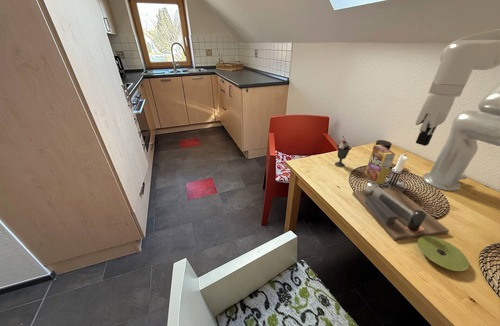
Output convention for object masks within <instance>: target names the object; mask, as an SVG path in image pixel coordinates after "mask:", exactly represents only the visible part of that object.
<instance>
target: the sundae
mask: <svg viewBox="0 0 500 326" xmlns="http://www.w3.org/2000/svg"><path fill="white" fill-rule="evenodd" d="M342 138H343V140H342V142H339V144H337V145H336V148H337V157H338V159H339V161H336V162H334V166H336V167H338V168H344V167H345V166H346V164H345V163H343V160H345V159H346V158H347V156H348V154H349V152H350V151H351V150H352V147H351V146H349V143H348V142H347V141H346V140H345V139H346V138H345V136H342Z"/></svg>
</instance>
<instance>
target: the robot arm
mask: <svg viewBox="0 0 500 326" xmlns="http://www.w3.org/2000/svg"><path fill="white" fill-rule="evenodd" d="M439 62H440V63H439V64H438V65H439V66H438V68H437V70H436V73H435V74H434V78H433V81H432V83H431V85H430V88H429V90H428V93H427V94H429V95H428V96H427V98H426V99H425V102H424V104H423V105H422V107H421V110H420V111H419V114H418V116H417V117H416V121H415V125H416V126H419V125H421V126H420V128H419V134H418V136H417V138H416V141H415V144H418V145H420V146H424V147H425V146H428V145H429V144H430V142H431V139H432V138H433V135H434V133H435V131H436V129H437V127H438V126H439V125H442V124H443V123H444V122H445V121H446V119H448V118H447V117H448V116H449V113H450V111H451V109H452V106H453V104H454V102H455V99H456V98H458V97H460V96H461V95H462V93H463V90H464V89H465V87H466V85H467V83H468V81H469V79H470V77H471V75H472V72H473V70H477V71H487V70H492V69H495V68H496V67H498V66H500V28H497V29H493V30H488V31H483V32H479V33H474V34H470V35H467V36H464V37H460V38H458V39H456V40H454V41H452V42H450V43H449V44H447V46H446V47H445V48H444V49H443V50H442V51H441V53H440V57H439ZM477 108H478V110H465V111H462V112H460V113H458V114H457V115H456V116H455V118H454V120H453V121H452V123H451V127H450V132H449V134H448V137H447V139H446V141H445V142H444V145H443V147H442V148H441V151H440V152H439V155H438V156H437V158H436V160H435V162H434V164H433V165H432V168H431V170H430V171H429V172H425V173H424V174H423V175H422V180H423V181H424V182H425V183H426V184H428V185H430V186H432V187H434V188H437V189H440V190H442V191H450V192H455V191H458V190H460V188H461V184H460V182H459V181H461V180H466V179H468V176H467V175H466V174H464V172H465V171H466V169H467V168H468V166H469V165H470V163H471V161H472V160H473V158H474V156H475V155H476V154H477V151H478V147H479V146H478V145H479V144H478V142H477V141H480V142H483V143H486V144H489V145H493V146H497V147H500V82H499V83H497V84H496V86H494V87H493V88H492V89H491V90H490V91H489V92H488V93H487V94H486V95H485V96H484V97H483V98H482V99H481V100H480V101H479V103H478V105H477Z"/></svg>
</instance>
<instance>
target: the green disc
mask: <svg viewBox="0 0 500 326" xmlns="http://www.w3.org/2000/svg"><path fill="white" fill-rule="evenodd" d="M417 246H418V248H419V250H420V251H421V253H422V254H423V255H424V256H425V257H426V258H427V259H428V260H430V261H431V262H433V263H435V264H436V265H438V266H439V267H442V268H445V269H447V270H449V271H454V272H464V271H467V269H469V266H470V265H469V264H470V263H469V260H468V258H467V257H466V255H465V254H464V253H463V252H462V250H460V249H459V247H456V246H455V245H453V244H451V243H450V242H448V241H447V240H444V239H442V238H439V237H436V236H423V237H418V238H417Z"/></svg>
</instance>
